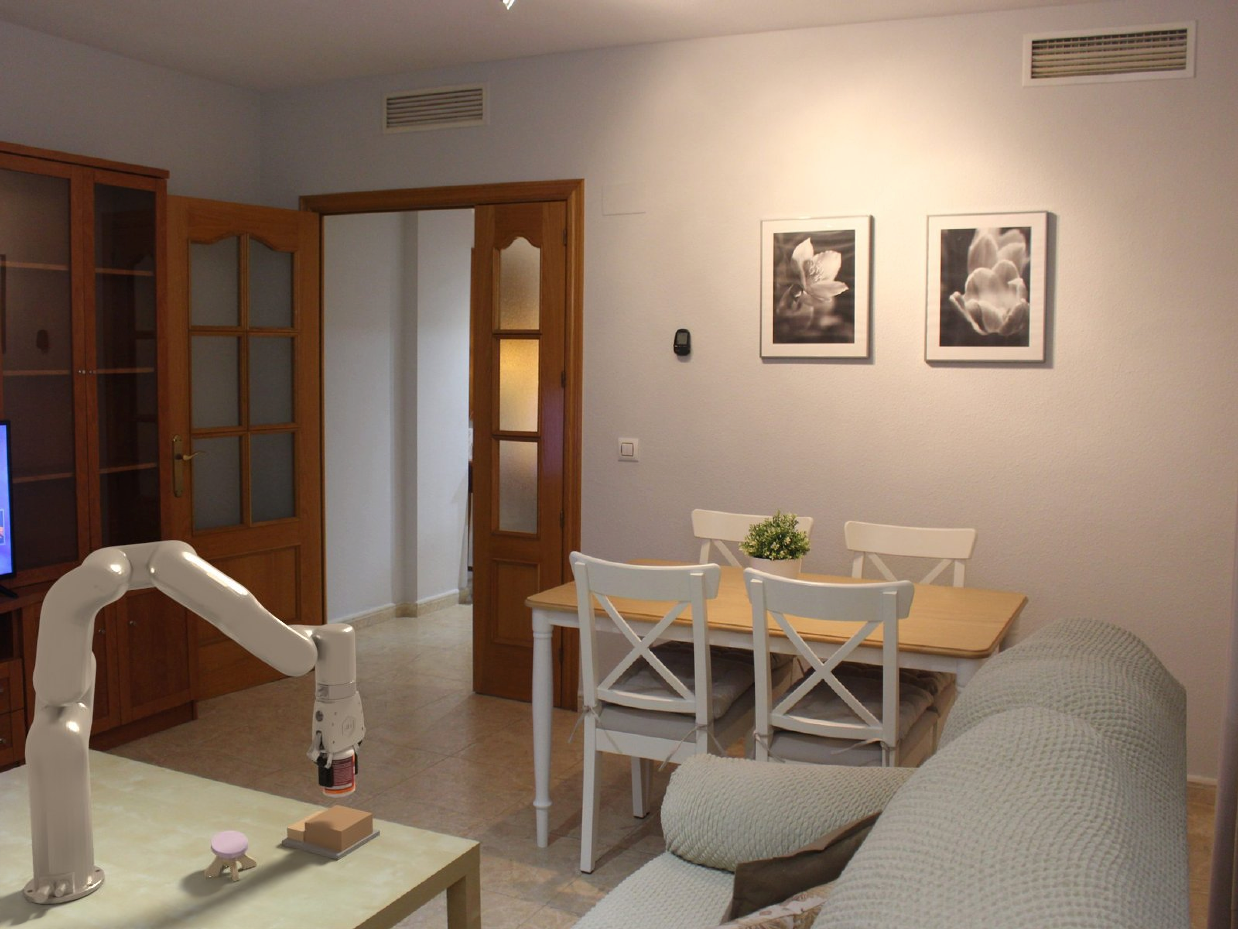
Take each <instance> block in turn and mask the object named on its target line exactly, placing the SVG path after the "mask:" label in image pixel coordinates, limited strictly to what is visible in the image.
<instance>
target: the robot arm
mask: <svg viewBox="0 0 1238 929" xmlns="http://www.w3.org/2000/svg"><path fill="white" fill-rule="evenodd" d="M155 587H156V588H157V589H158V590H159V591H161V592H162V593H163V594H165V595H166V596H168V597H169V598H171V599H172V600H174V601H175V602H177V603H179V604H180V605H182V606H183V607H185V608H187V609H189V610H190V611H192V612H193V613H195V614H196V615H198V616H199V617H200V618H202V619H204V620H205V621H207V622H209V623H210V624H211V625H213V626H214V627H216V628H217V629H218V630H219V631H220V632H222V633H223V634H224V635H225V636H227V637H228V638H230V639H232V640H233V641H235V642H236V643H237V644H238V645H240V646H241V647H243V648H244V649H245V650H247V651H248V652H250V653H251V654H252V655H254V657H256V658H258V659H260V660H261V661H262V662H264V663H266V664H268V665H269V666H270V667H272V668H274V669H275V670H277V671H279V672H280V673H282V674H284V675H286V676H291V677H300V676H303V675H305V674H308V673H309V672H310V671H312V670H313V668H314V667H315V668H314V674H315V691H314V696H315V698H316V699H315V700H314V703H313V712H312V722H311V723H312V724H311V726H312V728H311V737H312V739H311V740H312V743H311V745H310V746H309V748H308V750H307V752H306V756H307V757H308V758H309V759H310V760H311V761H312V762H313V763H314V764H315V766H316V767H317V769H318V771H317V772H318V774H317V775H318V778H317V779H318V786H320V787H322V786H324V787H328V788H331V787H333V785H334V777H333V767H331V762H332V758H333V754H335V753H338V752H340V751H342V750H344V749H346V748H348V747H350V746H352V747H353V748H354V759H355V776H357V775H358V774H359V765H358V764H359V761H358V760H359V759H358V755H359V753H360V751H361V750H360V747H361V746H362V745H361V744H362V743H363V739H364V737H365V734H366V732H367V728H366V727H365V723H364V722H365V721H364V711H363V705H362V704H363V703H362V699H361V695H360V693H359V691H358V690H357V663H356V662H357V660H356V659H357V658H356V655H357V654H356V632H355V629H354V627H353V626H352V625H350V624H349V623H348V624H347V623H343V622H342V623H341V622H335V623H327V624H322V625H306V624H304V625H303V624H288V625H287V624H285V623H284V622H282V621H281V620H280V619H278V618H277V617H276V616H275V615H273V614H272V613H271V612H270V611H269V610H268V609H266V608H265V607H264V606H263V605H262V604H261V603H260V602H259V601H258V600H257V598H256V597H255V595H254V594H252V593H251V591H249V590H248V589H247V588H246V587H245V586H243V584H241V583H239V582H237V581H236V580H234V579H233V578H232V577H230V576H228V575H227V574H225V573H224V572H222V571H221V570H219V569H218V568H216V567H215V566H213V565H212V564H211V563H209V562H208V561H206V560H204V559H203V558H201V557H200V556H199V555H198V553H197V552H196V550H195V549H194V548H193V547H192V546H191V545H190V544H189V543H187V542H184V541H182V540H161V541H153V542H152V541H151V542H146V543H134V544H126V545H115V546H108V547H103V548H100V549H97V550H94V551H93V552H91V553H90V554H88V556H87V557H86V558H85V559H84V560H83V562H82V563H81V565H79V566H77V567H76V568H73V569H72V570H70V571H69V572H67V573H65V574H64V575H62V576H60V578H59V579H57V581H55V583H53V585H52V586H51V587H50V588H49V590H48V591H47V593H46V595H45V596H44V600H43V602H42V606H41V609H40V616H39V617H40V618H39V626H38V627H39V628H38V635H37V643H36V644H37V645H36V655H35V656H36V657H35V666H34V670H33V674H32V675H33V676H32V682H33V683H32V684H33V689H34V691H35V701H34V703H35V704H34V716H33V721H32V723H31V725H30V728H29V730H28V733H27V737H26V740H25V747H24V749H25V750H24V758H25V765H26V766H25V768H26V773H27V774H26V775H27V781H28V782H27V783H28V796H29V797H28V798H29V811H30V812H29V813H30V831H31V849H32V850H31V851H32V870H33V871H32V872H33V873H32V874H33V878H31V879H30V880H29V881H27V883H26V884H25V886H24V888H23V896H24V897H25V898H24V899H25V900H27V901H28V902H32V903H34V904H35V903H36V904H41V905H51V904H60V903H66V902H71V901H73V900H77V899H80V898H83V897H85V896H87V895H89V894H91V893H94V892H95V891H96V890H97V889H98V888H100V887H101V886H102V885H103V884H104V881H105V872H104V870H103V869H102V868H100V866H97V865H95V855H94V854H95V852H94V851H95V850H94V833H93V832H94V828H93V826H94V825H93V811H92V809H93V808H92V790H91V789H92V788H91V773H90V772H91V771H90V760H89V758H90V756H89V747H90V746H89V745H90V743H89V742H90V735H91V730H92V724H93V716H94V715H93V714H94V713H93V712H94V701H95V700H94V699H95V698H94V697H95V688H96V687H95V685H96V672H97V660H96V657H95V654H94V652H93V651H92V650H93V638H94V632H95V631H94V630H95V621H96V620H95V619H96V616H97V614H98V613H99V611H100V610H101V609H102V608H103V607H106V606H107V605H109V604H111V603H114V602H115V601H118V600H120V598H122V597H123V596H124V595H125V594H126V592H128V591H131V590H133V591H134V590H140V589H147V588H155ZM324 753H327V756H326V760H325V759H324V758H323V756H324Z"/></svg>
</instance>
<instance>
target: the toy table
mask: <svg viewBox="0 0 1238 929" xmlns="http://www.w3.org/2000/svg"><path fill="white" fill-rule="evenodd" d="M210 849H211V852H212V853H213V854H214V855H215V858H214V859H213V861H212V862H211V864H209V865H208V867H207V868H206V869H205V870H204V872H203V875H204V878H205V879H207V878H206V877H209V876H213V877H217V876H216V875H218V876H220V872H221V869H222V867H223V866H224V867H225V868H227V867H226V866H230V867H229V869H230V878H231V877H232V878H231V880H232V879H233V880H232V881H233V882H237V880H238V881H240V876H239V874H240V873H239V870H238V866H237V865H238V864H237V862H239V863H240V865H241V869H242V870H246V868H247V869H250V867H251V868H254V867H253V866H255V867H257V864H258V862H257V861H256V860H255V858H253V857H251V856H249V855H248V854H246V853H247V851H248V849H249V840H248V837H247V836H246V835H245V834H244V833H242V832H240V831H236V830H224V831H219V832H218V833H216V834H214V835H213V836H212V838H211V840H210ZM209 878H210V877H209Z"/></svg>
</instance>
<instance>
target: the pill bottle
mask: <svg viewBox="0 0 1238 929" xmlns="http://www.w3.org/2000/svg"><path fill="white" fill-rule="evenodd" d="M326 756H327V753H324V756H323V758H324V759H325V760H326ZM331 767H333V777H334V785H333V787H331V788H328V787H324V786H321V789H322V790H321V791H322V793H323V795H324V796H326V797H328V798H343V797H347V796H349V795H352V794H353V793H354V792H355V790H356V775H355V759H354V748H353V747H352V746H350V747H348V748H346V749H344V750H342V751H340V752H338V753H335V754H333V758H332V762H331Z"/></svg>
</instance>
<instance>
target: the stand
mask: <svg viewBox="0 0 1238 929" xmlns="http://www.w3.org/2000/svg"><path fill="white" fill-rule="evenodd" d="M373 823H374V822H373V813H372V812H368V811H364V810H360V809H355V808H351V807H347V806H344V805H339V804H336V805H334V806H332V807H329V808H328V809H326V810H324V811H323V810H318V811H315V812H313V813H311V814H310V815H308V816H306V817H304V818H303V819H300V820H299V821H297V822H295V823H293V824H291V825H289V826H287V828H286V834H287V835H286V836H287V837H286V838H284V839H282V840H281V845H283V846H286V847H289V848H293V849H297V850H300V851H304V852H308V853H312V854H316V855H319V856H322V857H327V858H330V859H333V860H334V859H335V860H340V859H343V857H345V856H347V855H349V854H350V853H352V852H353V851H355V850H357V849H359V848H360V847H362V846H363V845H365V844H367V843H368V842H369V841H371V840H374V839H375V838H377V837H378V836H380V834H381V833H380V832H381V831H380V829H379V830H378V829H375V828H374V825H373Z"/></svg>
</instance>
